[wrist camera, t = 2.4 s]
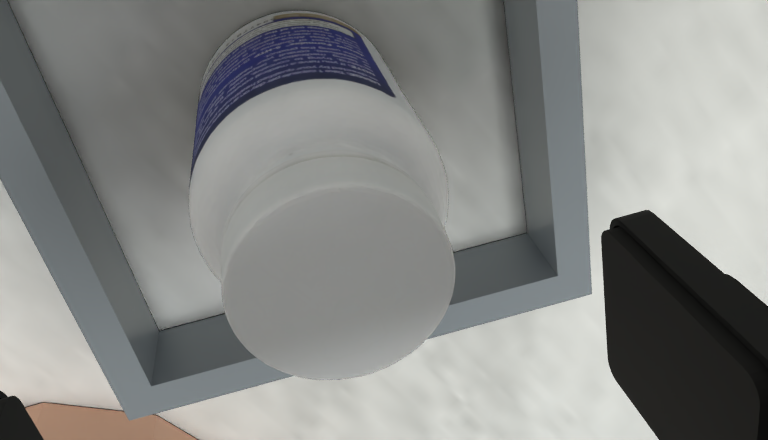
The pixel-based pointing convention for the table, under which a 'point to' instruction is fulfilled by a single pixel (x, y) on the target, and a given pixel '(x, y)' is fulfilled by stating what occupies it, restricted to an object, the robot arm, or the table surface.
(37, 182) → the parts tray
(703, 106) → the table surface
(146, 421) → the bowl
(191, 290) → the table surface
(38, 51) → the table surface
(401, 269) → the pill bottle
